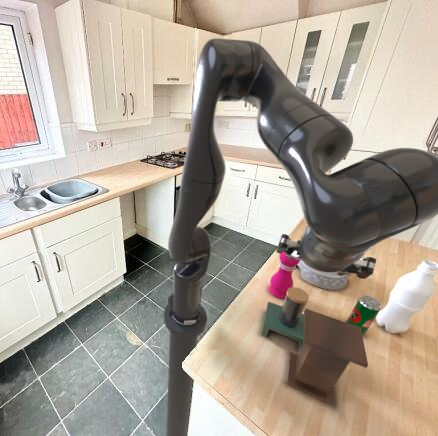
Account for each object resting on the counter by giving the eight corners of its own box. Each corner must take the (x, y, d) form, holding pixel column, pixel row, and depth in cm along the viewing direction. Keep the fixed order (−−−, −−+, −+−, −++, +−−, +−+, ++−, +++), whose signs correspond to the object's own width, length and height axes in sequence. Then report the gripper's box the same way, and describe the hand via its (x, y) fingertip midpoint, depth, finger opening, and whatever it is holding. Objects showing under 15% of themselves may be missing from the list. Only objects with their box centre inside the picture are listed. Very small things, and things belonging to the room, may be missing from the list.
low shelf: (260, 335, 74) (263, 324, 72) (264, 311, 81) (268, 301, 79) (305, 354, 68) (310, 342, 66) (306, 327, 76) (310, 316, 74)
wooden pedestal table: (284, 384, 62) (304, 339, 53) (287, 352, 69) (305, 308, 60) (336, 410, 56) (368, 365, 48) (333, 372, 64) (360, 327, 55)
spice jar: (277, 323, 72) (286, 296, 66) (279, 310, 76) (288, 284, 70) (297, 331, 69) (308, 303, 64) (298, 317, 73) (308, 291, 68)
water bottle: (367, 320, 78) (405, 258, 66) (383, 314, 80) (422, 253, 68) (394, 339, 72) (440, 275, 60) (410, 332, 74) (458, 268, 62)
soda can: (361, 338, 72) (378, 310, 66) (341, 326, 76) (356, 299, 70) (368, 330, 74) (385, 302, 69) (349, 318, 78) (364, 291, 73)
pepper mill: (264, 291, 89) (276, 247, 80) (272, 282, 94) (285, 239, 84) (284, 302, 85) (300, 257, 75) (292, 292, 89) (308, 247, 79)
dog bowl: (329, 260, 105) (333, 250, 102) (356, 291, 89) (362, 280, 86) (287, 258, 106) (290, 248, 104) (307, 288, 90) (312, 278, 88)
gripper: (400, 234, 33) (363, 258, 47) (286, 209, 41) (282, 236, 54) (387, 285, 32) (353, 294, 46) (272, 250, 40) (272, 267, 53)
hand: (314, 263), depth 50 cm, fingers open, 8 cm apart
